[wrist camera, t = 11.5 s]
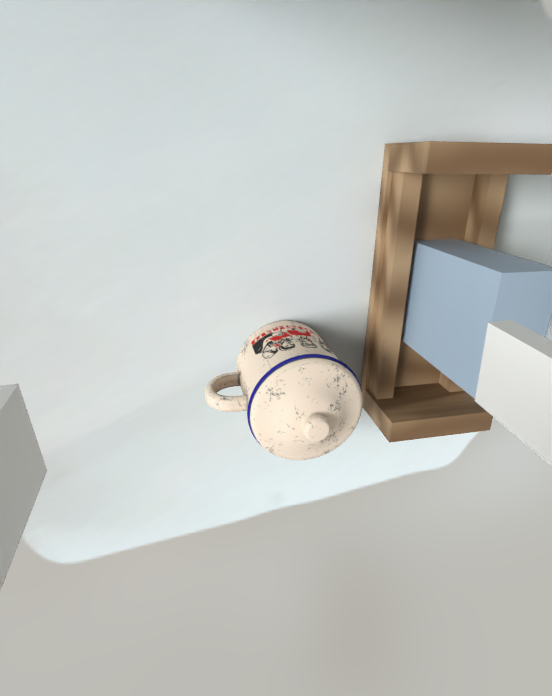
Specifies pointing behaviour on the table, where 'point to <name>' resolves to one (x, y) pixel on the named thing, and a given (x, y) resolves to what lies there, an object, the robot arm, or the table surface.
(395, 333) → the track
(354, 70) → the table surface
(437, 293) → the blue box with knob
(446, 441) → the table surface
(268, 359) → the teacup with lid
